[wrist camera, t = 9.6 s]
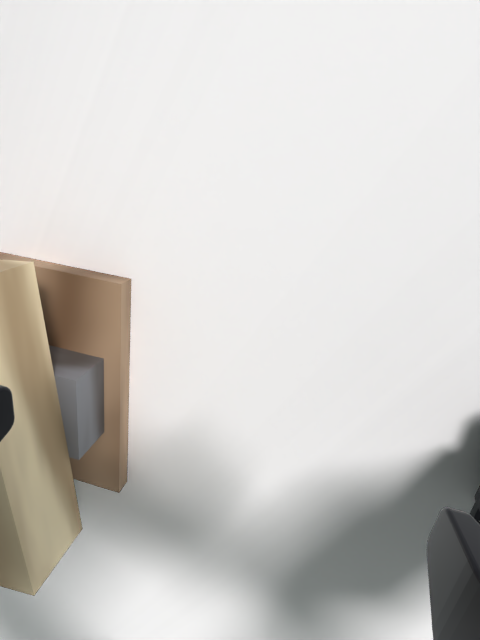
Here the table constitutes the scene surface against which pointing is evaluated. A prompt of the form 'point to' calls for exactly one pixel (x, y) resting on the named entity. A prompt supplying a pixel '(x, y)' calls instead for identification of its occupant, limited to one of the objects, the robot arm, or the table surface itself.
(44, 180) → the table surface
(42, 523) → the beam
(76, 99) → the table surface
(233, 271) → the table surface
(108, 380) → the fulcrum stand
